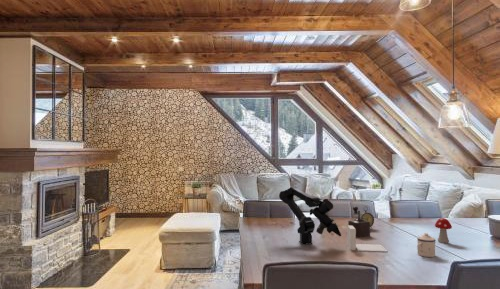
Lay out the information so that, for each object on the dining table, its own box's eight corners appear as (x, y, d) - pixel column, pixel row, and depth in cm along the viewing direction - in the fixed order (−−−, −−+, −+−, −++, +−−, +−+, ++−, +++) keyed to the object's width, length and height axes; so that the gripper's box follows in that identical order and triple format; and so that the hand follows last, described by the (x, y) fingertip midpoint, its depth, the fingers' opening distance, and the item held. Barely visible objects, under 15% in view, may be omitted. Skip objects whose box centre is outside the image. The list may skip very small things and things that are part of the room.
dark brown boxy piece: (371, 236, 243) (371, 209, 243) (358, 237, 238) (358, 210, 238) (355, 231, 257) (355, 205, 257) (343, 232, 252) (343, 206, 253)
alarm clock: (361, 229, 262) (361, 207, 262) (357, 228, 267) (357, 206, 267) (374, 229, 265) (374, 206, 265) (370, 227, 270) (370, 205, 270)
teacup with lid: (423, 251, 204) (423, 231, 205) (439, 255, 197) (439, 234, 197) (410, 254, 198) (410, 233, 198) (426, 259, 190) (425, 236, 191)
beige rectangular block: (350, 250, 207) (350, 228, 207) (347, 245, 217) (347, 225, 217) (355, 250, 207) (355, 229, 207) (352, 245, 217) (352, 225, 217)
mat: (358, 251, 205) (358, 250, 205) (353, 244, 219) (353, 243, 219) (387, 252, 203) (387, 251, 203) (381, 245, 217) (381, 244, 217)
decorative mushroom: (431, 241, 230) (431, 217, 230) (441, 240, 233) (441, 216, 233) (445, 244, 220) (444, 220, 221) (455, 243, 223) (455, 219, 224)
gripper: (311, 222, 224) (329, 241, 222) (312, 228, 205) (332, 249, 204) (324, 210, 223) (342, 228, 221) (327, 215, 204) (346, 236, 203)
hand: (340, 235), depth 212 cm, fingers closed
